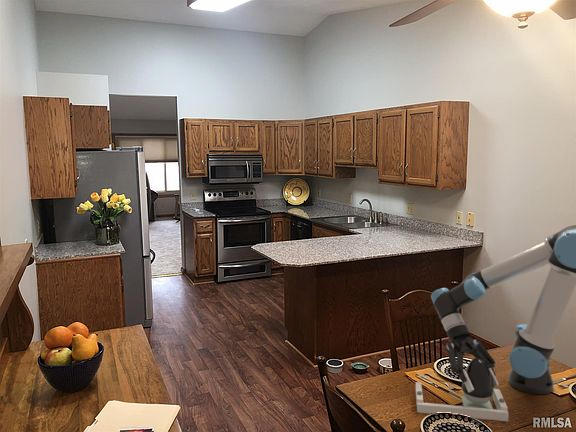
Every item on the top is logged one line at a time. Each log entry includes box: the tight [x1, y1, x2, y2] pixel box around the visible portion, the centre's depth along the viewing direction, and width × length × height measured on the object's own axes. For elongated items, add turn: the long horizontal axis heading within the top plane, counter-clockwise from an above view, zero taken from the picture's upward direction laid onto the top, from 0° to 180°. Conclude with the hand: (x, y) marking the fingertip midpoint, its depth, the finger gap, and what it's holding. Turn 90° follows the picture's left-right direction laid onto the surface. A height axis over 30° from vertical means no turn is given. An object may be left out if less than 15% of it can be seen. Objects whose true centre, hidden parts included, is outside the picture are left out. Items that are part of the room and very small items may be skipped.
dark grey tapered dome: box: [461, 357, 496, 404], centre depth 161 cm, size 10×10×15 cm
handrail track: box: [415, 381, 510, 422], centre depth 162 cm, size 29×14×5 cm, turn 77°
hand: (483, 388), depth 158 cm, fingers closed on dark grey tapered dome, 9 cm apart
